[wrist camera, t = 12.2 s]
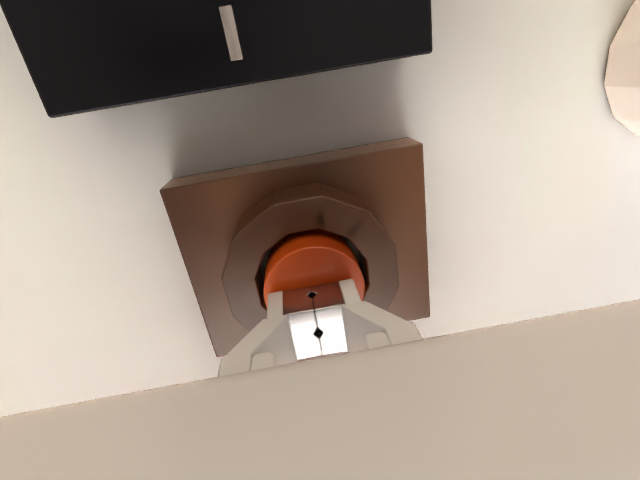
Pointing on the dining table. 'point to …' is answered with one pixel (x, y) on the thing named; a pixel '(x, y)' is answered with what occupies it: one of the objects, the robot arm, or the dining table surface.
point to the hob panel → (200, 44)
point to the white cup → (625, 72)
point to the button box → (303, 228)
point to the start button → (310, 262)
